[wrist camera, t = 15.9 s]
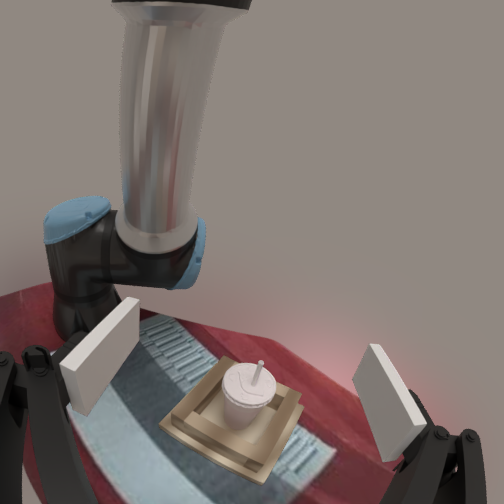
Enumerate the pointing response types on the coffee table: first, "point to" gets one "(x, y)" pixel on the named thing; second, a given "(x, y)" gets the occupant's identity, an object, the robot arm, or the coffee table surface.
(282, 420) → the wooden box
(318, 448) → the coffee table surface
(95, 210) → the robot arm
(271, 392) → the smoothie
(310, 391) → the coffee table surface
